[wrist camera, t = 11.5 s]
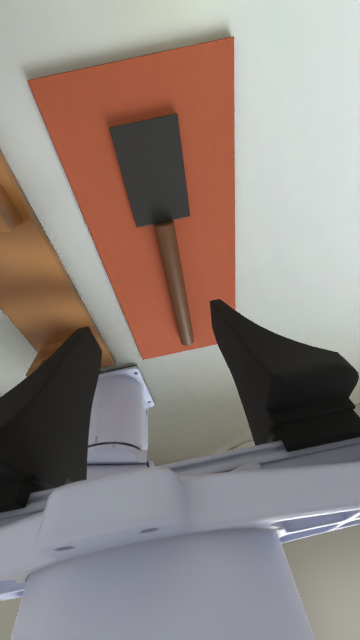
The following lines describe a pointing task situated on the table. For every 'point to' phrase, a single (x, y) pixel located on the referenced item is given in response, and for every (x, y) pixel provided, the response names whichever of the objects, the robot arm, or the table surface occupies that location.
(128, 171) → the spatula
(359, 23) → the table surface
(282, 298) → the table surface
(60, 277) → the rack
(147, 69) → the mat
